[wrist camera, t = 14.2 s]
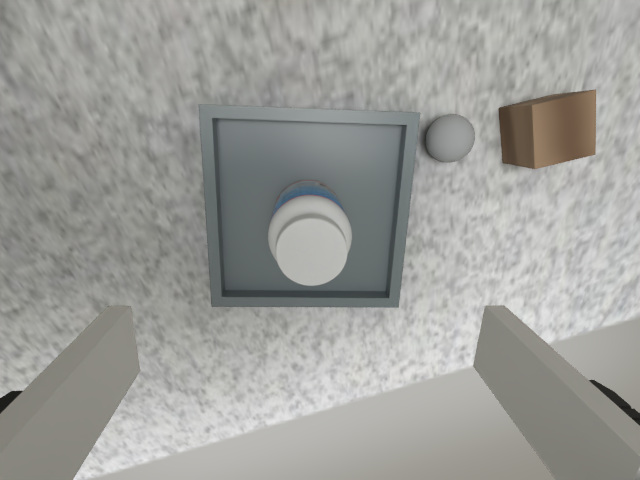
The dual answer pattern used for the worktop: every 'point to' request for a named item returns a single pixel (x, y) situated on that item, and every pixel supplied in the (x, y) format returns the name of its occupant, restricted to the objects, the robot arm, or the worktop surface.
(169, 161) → the worktop surface
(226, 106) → the tray
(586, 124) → the walnut block
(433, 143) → the ball
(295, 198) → the pill bottle
